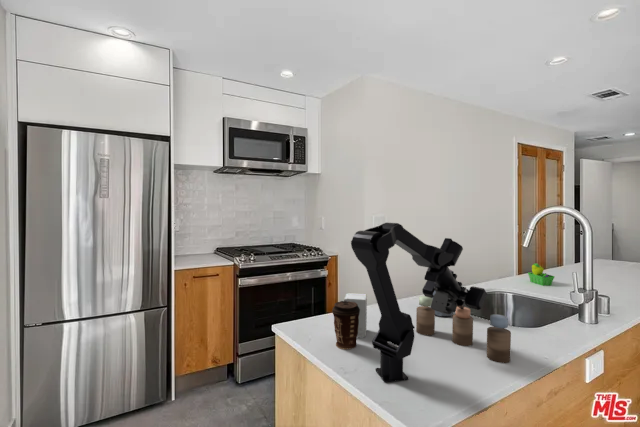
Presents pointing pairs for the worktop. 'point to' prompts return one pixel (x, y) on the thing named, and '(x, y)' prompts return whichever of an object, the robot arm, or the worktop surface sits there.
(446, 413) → the worktop surface
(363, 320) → the supplement box
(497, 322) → the slate-blue button
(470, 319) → the button stands
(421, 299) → the sage button
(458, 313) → the terracotta button
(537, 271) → the fruit basket
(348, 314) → the coffee cup
